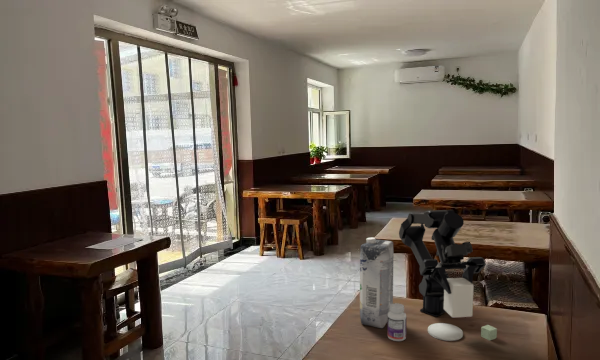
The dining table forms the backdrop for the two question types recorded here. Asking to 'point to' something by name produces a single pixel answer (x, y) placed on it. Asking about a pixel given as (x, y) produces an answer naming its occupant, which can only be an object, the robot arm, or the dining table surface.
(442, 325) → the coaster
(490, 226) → the dining table surface
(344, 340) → the dining table surface
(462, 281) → the cover
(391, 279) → the juice carton
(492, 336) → the block
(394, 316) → the pill bottle
